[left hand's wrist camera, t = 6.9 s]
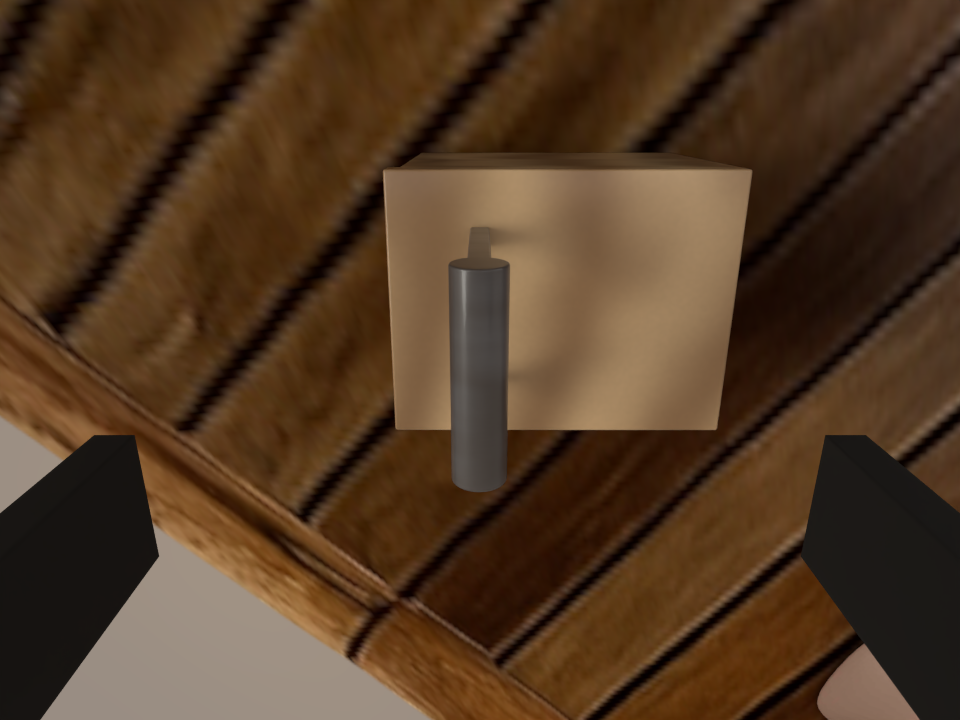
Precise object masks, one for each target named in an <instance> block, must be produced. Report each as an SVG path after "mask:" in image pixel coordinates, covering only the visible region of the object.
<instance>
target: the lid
mask: <svg viewBox="0 0 960 720" xmlns="http://www.w3.org/2000/svg"><path fill="white" fill-rule="evenodd" d="M751 179H752V170H751V169H747V168H742V167H388V168H386V169H384V170H383V183H384V203H385V223H386V243H387V264H388V284H389V304H390V324H391V344H392V365H393V385H394V405H395V425H396V429H397V430H451V459H452V480H453V482H454V483H455V485H457V486H458V487H459V488H461V489H464V490H467V491H472V492H486V491H491V490H495V489H497V488H499V487H501V486H502V485H503V484H504V483H505V481H506V479H507V431H508V430H716V429H717V424H718V417H719V410H720V402H721V395H722V388H723V381H724V374H725V366H726V359H727V352H728V345H729V337H730V330H731V323H732V316H733V309H734V301H735V294H736V287H737V280H738V272H739V265H740V258H741V251H742V244H743V236H744V229H745V222H746V215H747V207H748V200H749V193H750V186H751Z"/></svg>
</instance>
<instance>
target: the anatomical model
mask: <svg viewBox="0 0 960 720" xmlns="http://www.w3.org/2000/svg"><path fill="white" fill-rule="evenodd" d="M817 705H818V708H819V710H820V711H821V713H822V714H823V715H824V716H825V717H826V718H827V719H828V720H920V719H919V718H918V717H917V715H916V714H915V713H914V711H913V710H912V708H911V707H910V706H909V704H908V703H907V702H906V700H905V699H904V697H903V696H902V695H901V693H900V692H899V691H898V689H897V688H896V686H895V685H894V684H893V682H892V681H891V680H890V678H889V677H888V675H887V674H886V673H885V671H884V670H883V669H882V667H881V666H880V664H879V663H878V662H877V660H876V659H875V658H874V656H873V655H872V653H871V652H870V651H869V649H868V648H867V647H866V645H865V644H863V645H861V646H860V647H859V648H857V649H856V650H855V651H854V652H853V653H852V654H851V655H850V656H849V657H848V658H847V659H846V660H845V661H844V662H843V663H842V664H841V665H840V666H839V667H838V668H837V669H836V671H835V672H834V673H833V674H832V675H831V677H830V678H829V679H828V681H827V682H826V683H825V685H824V686H823V688H822V689H821V691H820V693H819V696H818V700H817Z"/></svg>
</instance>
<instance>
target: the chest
mask: <svg viewBox="0 0 960 720" xmlns="http://www.w3.org/2000/svg"><path fill="white" fill-rule="evenodd" d="M401 167H738V166H733V165H728V164H723V163H718V162H713V161H708V160H703V159H698V158H693V157H688V156H683V155H678V154H674V153H421V154H420V155H418V156H417V157H415V158H414V159H412V160H411V161H409V162H408V163H406V164H404V165H403V166H401Z"/></svg>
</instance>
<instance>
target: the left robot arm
mask: <svg viewBox="0 0 960 720" xmlns="http://www.w3.org/2000/svg"><path fill="white" fill-rule="evenodd" d="M158 557H159V553H158V549H157V544H156V539H155V534H154V529H153V524H152V519H151V514H150V509H149V504H148V499H147V494H146V489H145V484H144V480H143V475H142V470H141V465H140V460H139V455H138V450H137V445H136V440H135V435H94V436H93V437H91V438H90V439H89V440H88V441H87V442H85V443H84V444H83V445H82V446H81V447H79V448H78V449H77V450H76V451H75V452H73V453H72V454H71V455H70V456H69V457H67V458H66V459H65V460H64V461H63V462H61V463H60V464H59V465H58V466H57V467H55V468H54V469H53V470H52V471H51V472H49V473H48V474H47V475H46V476H45V477H43V478H42V479H41V480H40V481H39V482H37V483H36V484H35V485H34V486H33V487H31V488H30V489H29V490H28V491H27V492H25V493H24V494H23V495H22V496H21V497H19V498H18V499H17V500H16V501H14V502H13V503H12V504H11V505H10V506H8V507H7V508H6V509H5V510H4V511H2V512H1V513H0V720H40V719H41V718H42V717H43V715H44V714H45V713H46V711H47V710H48V708H49V707H50V706H51V704H52V703H53V702H54V700H55V699H56V697H57V696H58V695H59V693H60V692H61V691H62V689H63V688H64V686H65V685H66V684H67V682H68V681H69V680H70V678H71V677H72V675H73V674H74V673H75V671H76V670H77V669H78V667H79V666H80V664H81V663H82V662H83V660H84V659H85V658H86V656H87V655H88V653H89V652H90V651H91V649H92V648H93V647H94V645H95V644H96V642H97V641H98V640H99V638H100V637H101V636H102V634H103V633H104V631H105V630H106V629H107V627H108V626H109V625H110V623H111V622H112V620H113V619H114V618H115V616H116V615H117V614H118V612H119V611H120V609H121V608H122V607H123V605H124V604H125V603H126V601H127V600H128V598H129V597H130V596H131V594H132V593H133V591H134V590H135V589H136V587H137V586H138V585H139V583H140V582H141V580H142V579H143V578H144V576H145V575H146V574H147V572H148V571H149V569H150V568H151V567H152V565H153V564H154V562H155V561H156V560H157V558H158ZM801 557H802V558H803V560H804V561H805V563H806V564H807V565H808V567H809V568H810V569H811V571H812V572H813V574H814V575H815V576H816V578H817V579H818V580H819V582H820V583H821V585H822V586H823V587H824V589H825V590H826V591H827V593H828V594H829V596H830V597H831V598H832V600H833V601H834V603H835V604H836V605H837V607H838V608H839V609H840V611H841V612H842V614H843V615H844V616H845V618H846V619H847V620H848V622H849V623H850V625H851V626H852V627H853V629H854V630H855V631H856V633H857V634H858V636H859V637H860V638H861V640H862V641H863V642H864V644H865V645H866V647H867V648H868V649H869V651H870V652H871V653H872V655H873V656H874V658H875V659H876V660H877V662H878V663H879V664H880V666H881V667H882V669H883V670H884V671H885V673H886V674H887V675H888V677H889V678H890V680H891V681H892V682H893V684H894V685H895V686H896V688H897V689H898V691H899V692H900V693H901V695H902V696H903V697H904V699H905V700H906V702H907V703H908V704H909V706H910V707H911V708H912V710H913V711H914V713H915V714H916V715H917V717H918V718H919V719H920V720H960V513H959V512H958V511H956V510H955V509H954V508H953V507H952V506H950V505H949V504H948V503H947V502H946V501H944V500H943V499H942V498H941V497H940V496H938V495H937V494H936V493H935V492H933V491H932V490H931V489H930V488H929V487H927V486H926V485H925V484H924V483H923V482H921V481H920V480H919V479H918V478H917V477H915V476H914V475H913V474H912V473H911V472H909V471H908V470H907V469H906V468H905V467H903V466H902V465H901V464H900V463H899V462H897V461H896V460H895V459H894V458H893V457H891V456H890V455H889V454H888V453H887V452H885V451H884V450H883V449H882V448H881V447H879V446H878V445H877V444H876V443H875V442H873V441H872V440H871V439H870V438H869V437H867V436H866V435H825V440H824V445H823V450H822V455H821V460H820V465H819V470H818V475H817V480H816V484H815V489H814V494H813V499H812V504H811V509H810V514H809V519H808V524H807V529H806V534H805V539H804V544H803V549H802V553H801Z"/></svg>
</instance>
